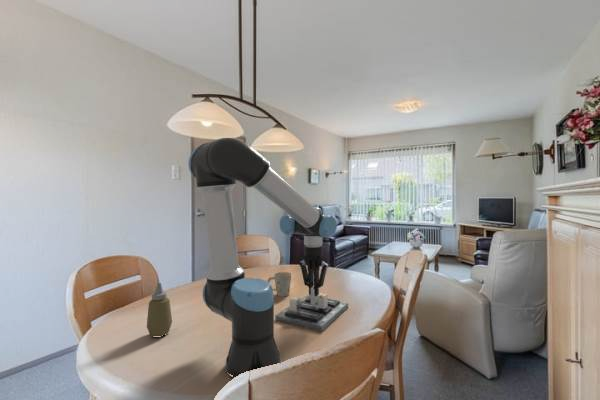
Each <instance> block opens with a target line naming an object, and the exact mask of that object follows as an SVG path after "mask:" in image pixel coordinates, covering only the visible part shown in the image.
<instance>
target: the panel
mask: <svg viewBox="0 0 600 400" xmlns="http://www.w3.org/2000/svg"><path fill="white" fill-rule="evenodd" d="M313 287H314V286H313ZM348 308H349V302H345V301H341V300H337V299H331V298H328V307H326V308H325V309H322V308H318V296H317V303H316V304H314V305H312V304H311V295H309V294H308V295H306V296H304V297H302V298H301V297H297V296H292V297H290V298H289V306H288V307H286V308H285V309H283V310H282V311H280V312H279V313H277V314H274V315H275V316H274V318H275V319H274V321H276V322H281V323H285V324H289V325H293V326H297V327H300V328H305V329H307V330H313V331H316V332H317V331H318V332H323V331H325V330H326V329H327V328H328V327H329V326H330V325H331V324H332V323H333V322H335V321H336V319H338V318H339V317H340V316H341V315H342V314H343V313H345V311H346V310H347V309H348Z"/></svg>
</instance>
